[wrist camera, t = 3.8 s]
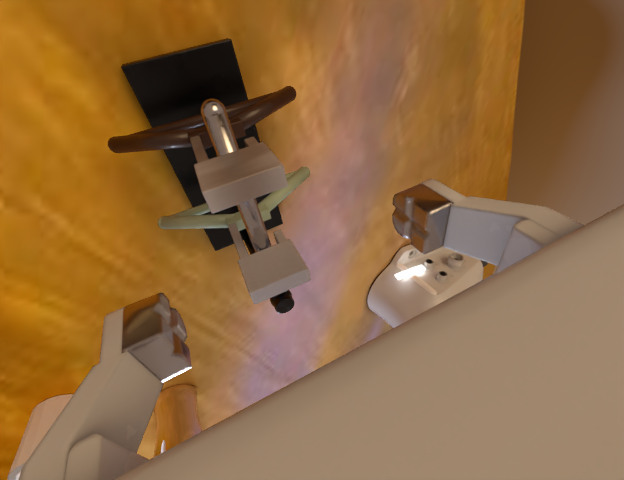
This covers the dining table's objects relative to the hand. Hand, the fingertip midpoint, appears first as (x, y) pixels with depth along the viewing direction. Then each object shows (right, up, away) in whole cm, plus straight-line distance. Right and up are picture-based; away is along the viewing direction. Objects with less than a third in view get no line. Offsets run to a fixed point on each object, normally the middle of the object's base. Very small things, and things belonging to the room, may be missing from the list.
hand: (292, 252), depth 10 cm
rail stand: (-8, +7, +19) cm, 22 cm away
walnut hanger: (-7, +10, +13) cm, 18 cm away
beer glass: (-20, -23, +36) cm, 47 cm away
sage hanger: (-6, +5, +17) cm, 19 cm away
